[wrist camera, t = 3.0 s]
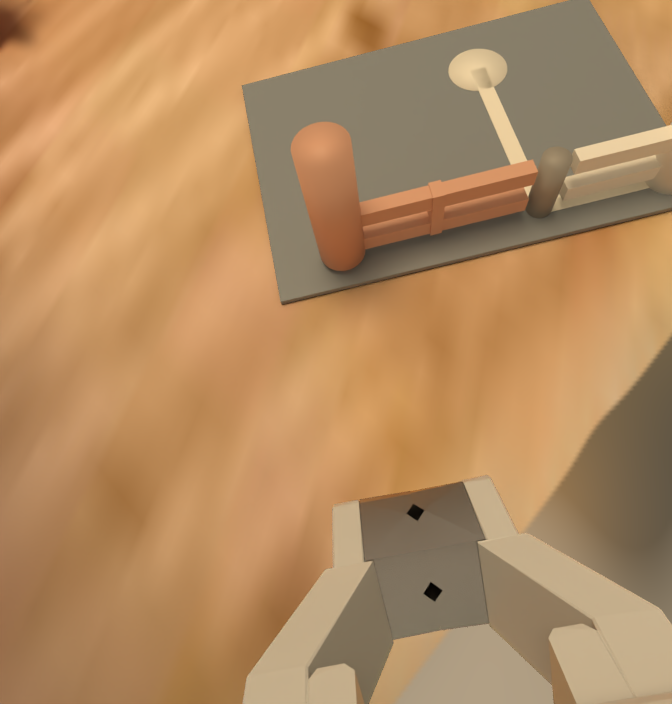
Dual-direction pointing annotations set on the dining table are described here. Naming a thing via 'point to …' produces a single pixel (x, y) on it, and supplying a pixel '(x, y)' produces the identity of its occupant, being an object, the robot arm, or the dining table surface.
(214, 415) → the dining table surface
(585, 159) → the fixed fence section
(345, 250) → the hinged fence section
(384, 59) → the board
